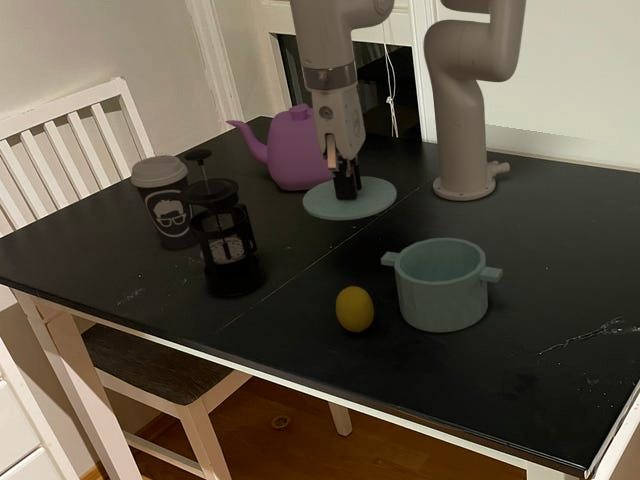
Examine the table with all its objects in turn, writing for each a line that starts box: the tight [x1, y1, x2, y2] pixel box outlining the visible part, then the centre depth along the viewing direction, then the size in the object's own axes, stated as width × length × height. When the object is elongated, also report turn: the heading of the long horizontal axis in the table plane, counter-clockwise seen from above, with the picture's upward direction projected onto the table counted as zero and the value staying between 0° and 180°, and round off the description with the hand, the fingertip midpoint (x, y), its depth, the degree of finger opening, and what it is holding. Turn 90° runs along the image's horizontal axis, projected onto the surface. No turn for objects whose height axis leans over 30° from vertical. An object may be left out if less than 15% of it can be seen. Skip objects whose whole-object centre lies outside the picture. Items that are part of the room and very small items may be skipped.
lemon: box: [335, 285, 375, 333], centre depth 109 cm, size 6×6×8 cm
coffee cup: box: [130, 154, 199, 250], centre depth 132 cm, size 10×10×15 cm
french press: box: [179, 148, 265, 299], centre depth 117 cm, size 12×9×23 cm
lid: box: [302, 163, 398, 221], centre depth 116 cm, size 15×15×6 cm
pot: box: [380, 236, 504, 333], centre depth 113 cm, size 14×19×8 cm
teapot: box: [225, 103, 339, 191], centre depth 153 cm, size 23×21×15 cm
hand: (349, 193), depth 116 cm, fingers closed on lid, 2 cm apart
